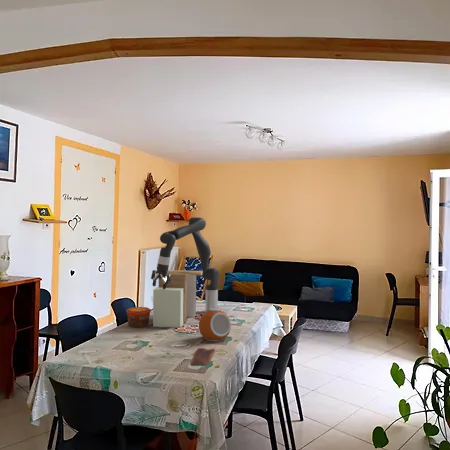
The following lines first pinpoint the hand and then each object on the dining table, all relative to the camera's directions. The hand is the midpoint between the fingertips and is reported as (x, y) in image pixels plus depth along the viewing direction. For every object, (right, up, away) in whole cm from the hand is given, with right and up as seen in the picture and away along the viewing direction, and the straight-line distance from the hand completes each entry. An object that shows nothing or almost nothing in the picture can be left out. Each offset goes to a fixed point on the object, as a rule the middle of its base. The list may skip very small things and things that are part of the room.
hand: (159, 287), depth 280 cm
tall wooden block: (+7, -25, +12) cm, 28 cm away
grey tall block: (+15, -25, +27) cm, 39 cm away
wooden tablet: (+32, -27, -63) cm, 76 cm away
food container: (-13, -25, -1) cm, 28 cm away
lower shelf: (+6, -25, 0) cm, 25 cm away
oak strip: (+14, +7, +11) cm, 19 cm away
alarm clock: (+37, -26, -29) cm, 54 cm away
